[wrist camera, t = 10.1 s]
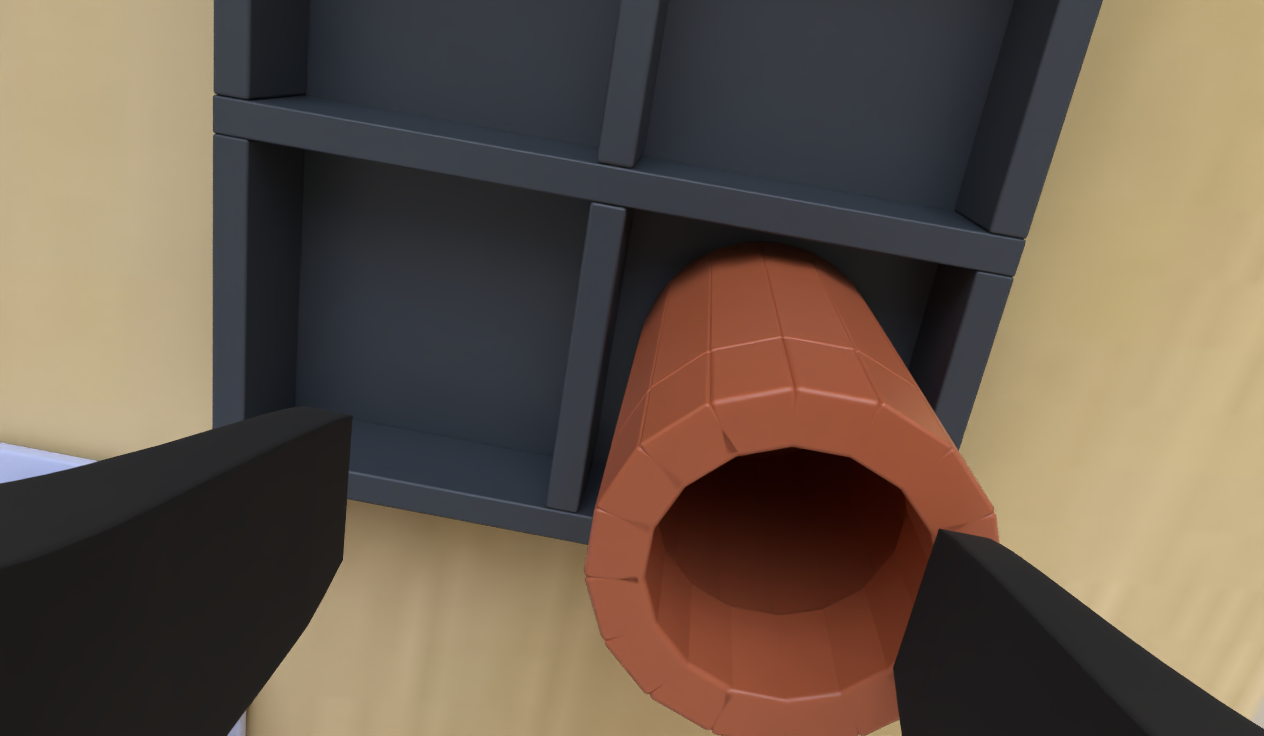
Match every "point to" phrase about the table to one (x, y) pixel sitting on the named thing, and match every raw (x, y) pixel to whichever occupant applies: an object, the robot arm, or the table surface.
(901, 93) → the tray
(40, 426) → the table surface
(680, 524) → the jar
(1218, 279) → the table surface
